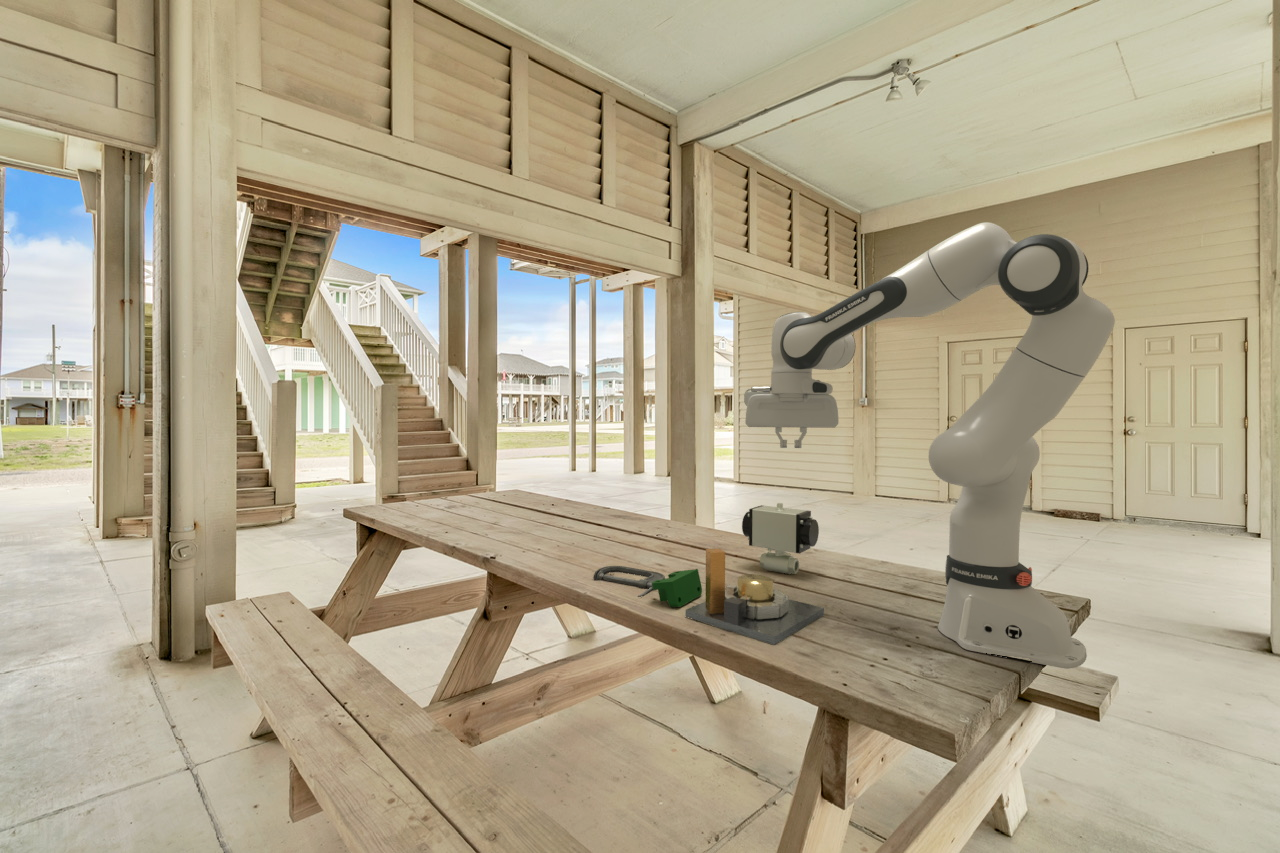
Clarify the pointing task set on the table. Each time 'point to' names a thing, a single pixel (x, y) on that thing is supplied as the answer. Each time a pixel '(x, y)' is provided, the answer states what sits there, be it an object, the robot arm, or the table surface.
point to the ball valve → (780, 535)
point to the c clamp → (641, 583)
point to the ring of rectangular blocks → (736, 591)
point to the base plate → (756, 628)
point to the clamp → (679, 587)
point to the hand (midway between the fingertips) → (790, 447)
